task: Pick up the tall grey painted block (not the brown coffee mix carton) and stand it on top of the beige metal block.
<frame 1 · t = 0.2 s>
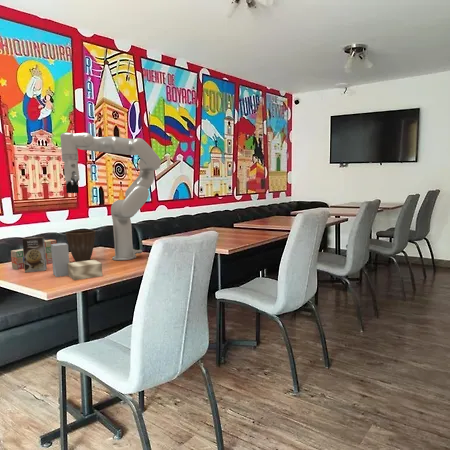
hand: (72, 193, 208), 36 cm above the table, tool pointing down, fingers open, 9 cm apart
beige metal block: (85, 276, 185), on the table
grey block: (61, 274, 189), on the table
plant pot: (82, 261, 221), on the table
stack of blocks: (36, 266, 216), on the table
coffee box: (36, 270, 202), on the table
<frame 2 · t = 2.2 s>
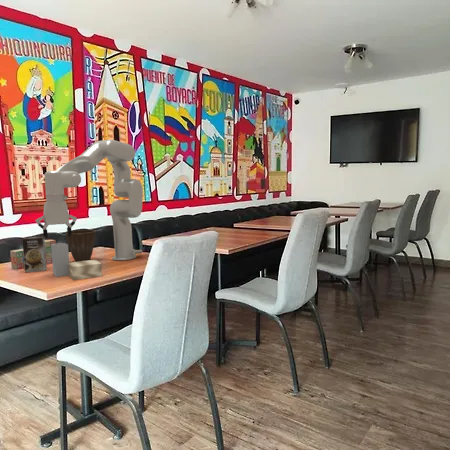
hand: (57, 237, 187), 17 cm above the table, tool pointing down, fingers open, 9 cm apart
nothing on the table moved.
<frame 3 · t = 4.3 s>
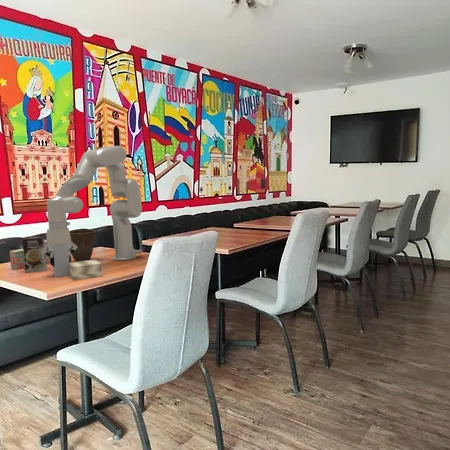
hand: (61, 264, 189), 5 cm above the table, tool pointing down, fingers closed on grey block, 6 cm apart
grey block: (61, 274, 189), on the table, touching gripper
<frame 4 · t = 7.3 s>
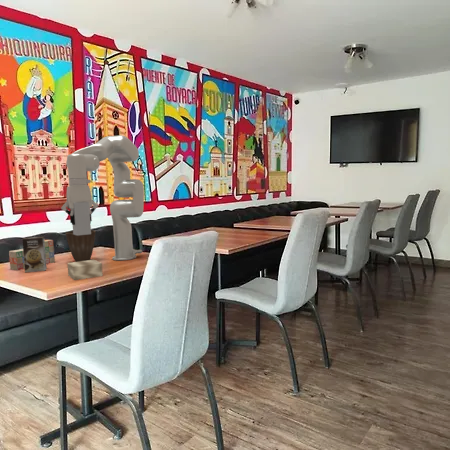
hand: (81, 223, 183), 23 cm above the table, tool pointing down, fingers closed on grey block, 6 cm apart
grey block: (82, 234, 183), point 19 cm above the table, touching gripper
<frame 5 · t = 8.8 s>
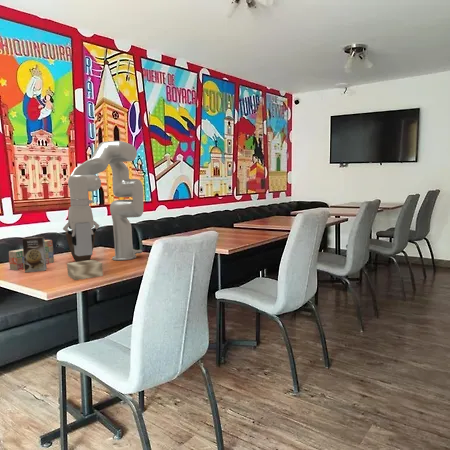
hand: (82, 244, 183), 14 cm above the table, tool pointing down, fingers closed on grey block, 6 cm apart
grey block: (83, 254, 184), point 10 cm above the table, touching gripper
when the fingers open (11 cm above the table, at t = 10.3 s): grey block drops 1 cm, resting on beige metal block.
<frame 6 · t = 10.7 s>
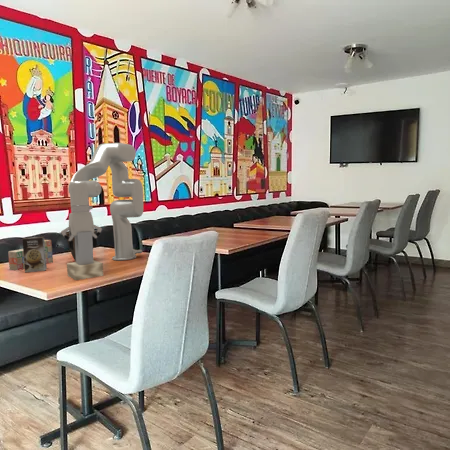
hand: (83, 248, 184), 12 cm above the table, tool pointing down, fingers open, 9 cm apart
beige metal block: (85, 276, 185), on the table, touching grey block
grey block: (84, 263, 185), point 6 cm above the table, touching beige metal block
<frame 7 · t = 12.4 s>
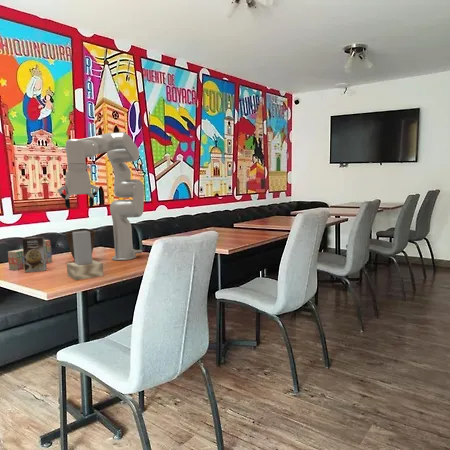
hand: (80, 207, 182), 30 cm above the table, tool pointing down, fingers open, 9 cm apart
beige metal block: (85, 276, 185), on the table
grey block: (83, 263, 184), point 6 cm above the table
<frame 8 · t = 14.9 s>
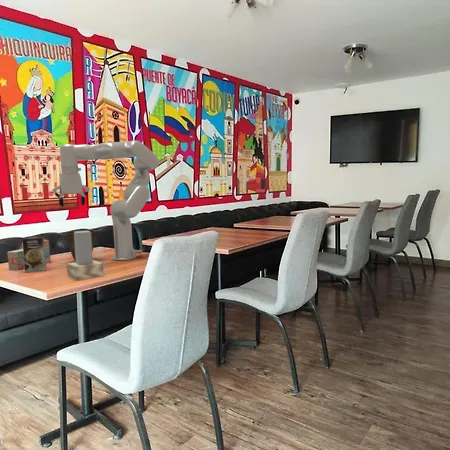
hand: (72, 205, 203), 30 cm above the table, tool pointing down, fingers open, 9 cm apart
at the end: grey block inside the target area on the beige metal block (0.2 cm from its centre), point 6.1 cm above the beige metal block's base; grey block tilted 1°; the gripper is holding nothing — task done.
